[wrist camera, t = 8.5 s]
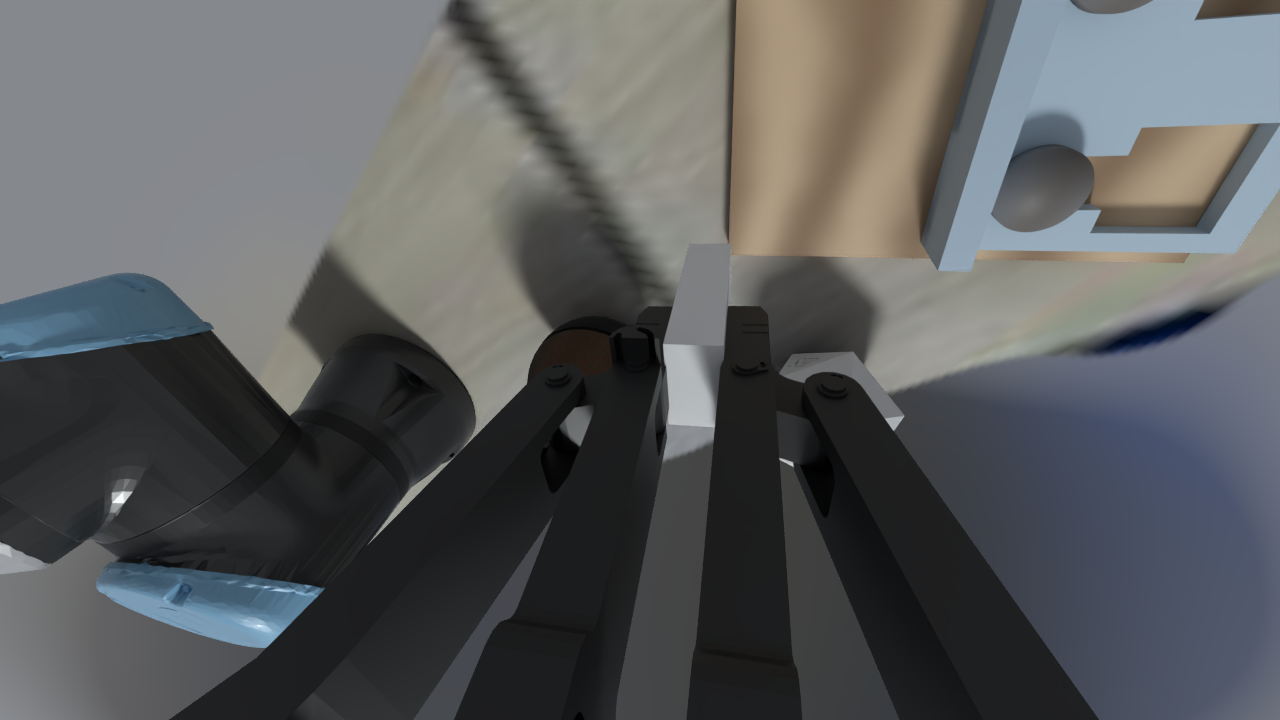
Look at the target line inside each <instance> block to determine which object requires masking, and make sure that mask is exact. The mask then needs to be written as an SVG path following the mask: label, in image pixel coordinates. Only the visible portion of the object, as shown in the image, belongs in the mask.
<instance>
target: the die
mask: <svg viewBox="0 0 1280 720" xmlns="http://www.w3.org/2000/svg"><path fill="white" fill-rule="evenodd" d="M820 372H836V373H840V374H844V375H847V376H849V377H851V378H853V379H855V380H856V381H857V382H858V383H859V384H860V385H861V386H862V387H863V389H864V390H865V391H866V393H867V394H868V396H869V397H870V398H871V400H872V401H873V403H874V404H875V406H876V407H877V408H878V410H879V411H880V413H881V414H882V415H883V417H884V418H885V420H886V421H887V422H888V424H889V425H890V427H891V428H892V429H893V431H894V430H895V429H896V427H897V425H898V424H899V423H900V421H901V420H902V419H903V417H904V415H903V413H902V412H901V411H900V410H899V408H898V407H897V406H896V405H895V404H894V402H893V401H892V400H891V398H890V397H889V396H888V395H887V393H886V392H885V391H884V390H883V388H882V387H881V386H880V385H879V383H878V382H877V381H876V380H875V378H874V377H873V376H872V375H871V373H870V372H869V371H868V370H867V368H866V367H865V366H864V365H863V363H862V362H861V361H860V360H859V358H858V357H857V356H856V355H855V353H854V352H828V353H802V354H792V355H791V356H790V358H789V359H788V361H787V362H786V363H785V365H784V366H783V368H782V369H781V371H780V372H779V374H780V375H782V376H784V377H786V378H789V379H792V380H795V381H799V382H803V383H804V382H805V380H806V378H808V377H810V376H811V375H813V374H816V373H820ZM779 460H781V461H783V462H785V463H787V464H789V465H791V466H793V462H791V461H788V460H785V459H781V458H779ZM793 467H794V466H793Z"/></svg>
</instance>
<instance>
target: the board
mask: <svg viewBox="0 0 1280 720" xmlns="http://www.w3.org/2000/svg"><path fill="white" fill-rule="evenodd" d="M987 1H988V0H737V2H736V34H735V65H734V96H733V128H732V159H731V190H730V222H729V244H731V255H766V256H823V257H880V258H930V257H929V255H928V254H927V252H926V251H925V249H924V247H923V246H922V244H921V239H922V235H923V232H924V228H925V224H926V221H927V217H928V214H929V210H930V206H931V203H932V199H933V196H934V192H935V188H936V185H937V181H938V178H939V174H940V170H941V167H942V163H943V160H944V156H945V152H946V149H947V145H948V142H949V138H950V134H951V131H952V127H953V124H954V120H955V116H956V113H957V109H958V106H959V102H960V98H961V95H962V91H963V88H964V84H965V80H966V77H967V73H968V70H969V66H970V63H971V59H972V55H973V52H974V48H975V45H976V41H977V37H978V34H979V30H980V27H981V23H982V19H983V16H984V12H985V9H986V5H987ZM1070 1H1071V2H1072V3H1073V5H1075V6H1076V7H1077V8H1078V9H1080V10H1082V11H1085V12H1088V13H1093V14H1118V13H1124V12H1127V11H1131V10H1134V9H1136V8H1139V7H1141V6H1143V5H1145V4H1147V3H1149V2H1151V1H1153V0H1070ZM1274 12H1280V0H1204V2H1203V4H1202V6H1201V8H1200V10H1199V12H1198V14H1197V16H1196V18H1209V17H1222V16H1235V15H1248V14H1261V13H1274ZM1196 18H1195V19H1196ZM1259 124H1260V123H1259ZM1259 124H1231V125H1202V126H1174V127H1146V128H1141V130H1140V132H1139V134H1138V136H1137V138H1136V140H1135V143H1134V145H1133V147H1132V149H1131V151H1130V153H1129V155H1128V156H1087V157H1086V156H1085V155H1084V154H1082V153H1080V152H1078V151H1076V150H1074V149H1072V148H1070V147H1067V146H1064V145H1057V144H1050V145H1042V146H1038V147H1034V148H1031V149H1029V150H1026V151H1024V152H1022V153H1020V154H1018V155H1017V156H1015V157H1014V158H1011V160H1010V162H1009V165H1008V168H1007V170H1006V173H1005V176H1004V179H1003V182H1002V185H1001V187H1000V190H999V193H998V196H997V199H996V201H995V204H994V207H993V210H992V213H991V215H992V216H993V217H994V218H995V219H996V220H997V221H998V222H999V223H1000V224H1001V225H1003V226H1004V227H1005V228H1007V229H1010V230H1013V231H1017V232H1035V231H1040V230H1044V229H1047V228H1050V227H1052V226H1055V225H1057V224H1059V223H1061V222H1062V221H1064V220H1065V219H1067V218H1068V217H1070V216H1071V215H1072V214H1074V213H1075V212H1076V211H1077V210H1078V209H1079V208H1080V207H1081V206H1082V204H1092V205H1094V206H1095V207H1097V208H1099V209H1100V210H1101V212H1100V214H1099V216H1098V218H1097V220H1096V222H1095V224H1094V226H1151V227H1196V226H1197V224H1198V222H1199V221H1200V219H1201V218H1202V216H1203V214H1204V213H1205V211H1206V210H1207V208H1208V206H1209V205H1210V203H1211V201H1212V200H1213V198H1214V197H1215V195H1216V193H1217V192H1218V190H1219V189H1220V187H1221V185H1222V184H1223V182H1224V180H1225V179H1226V177H1227V176H1228V174H1229V172H1230V171H1231V169H1232V168H1233V166H1234V164H1235V163H1236V161H1237V159H1238V158H1239V156H1240V155H1241V153H1242V151H1243V150H1244V148H1245V147H1246V145H1247V143H1248V142H1249V140H1250V138H1251V137H1252V135H1253V134H1254V132H1255V130H1256V129H1257V127H1258V126H1259ZM1189 254H1190V253H1162V252H1088V251H1015V250H978V252H977V255H976V258H975V259H995V260H1052V261H1109V262H1167V263H1184V262H1185V260H1186V258H1187V257H1188V255H1189Z"/></svg>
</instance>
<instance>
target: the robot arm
mask: <svg viewBox="0 0 1280 720" xmlns="http://www.w3.org/2000/svg"><path fill="white" fill-rule="evenodd" d="M730 286H731V244H689V247H688V251H687V255H686V259H685V263H684V266H683V270H682V274H681V278H680V282H679V285H678V289H677V293H676V297H675V301H674V304H673V307H659V306H648V307H647V308H646V309H645V310H644V311H643V312H641V313H640V314H639V317H638V319H637V322H636V325H629V326H626V327H622V328H619V329H618V330H616V331H614V332H613V333H612V334H611V335H610V336H609V343H610V349H611V356H612V363H613V364H612V366H611V369H610V370H608V371H606V372H602V373H598V374H593V375H587V376H583V372H582V370H581V369H580V368H579V367H578V366H575V365H573V364H564V363H562V364H555V365H552V366H549V367H547V368H544V369H543V370H541V371H540V372H539V373H537V374H536V375H535V376H534V377H533V378H532V379H531V380H530V381H529V383H528V384H527V385H526V386H525V387H524V388H523V389H522V390H521V391H520V392H519V393H518V394H517V395H516V396H515V397H514V398H513V399H512V400H511V401H510V402H509V403H508V404H507V405H506V406H505V407H504V408H503V409H502V410H501V411H500V412H499V413H498V414H497V415H496V416H495V417H494V418H493V419H492V420H491V421H490V422H489V423H488V424H487V425H486V426H485V427H484V428H483V429H482V430H481V431H480V432H479V433H478V434H477V435H476V436H475V437H474V438H473V439H472V440H471V441H470V442H469V443H468V444H467V445H466V446H465V444H466V443H467V441H468V440H469V439H470V437H471V436H472V434H473V432H474V429H475V424H476V416H475V411H474V407H473V404H472V401H471V399H470V397H469V395H468V393H467V392H466V390H465V388H464V387H463V386H462V384H461V383H460V382H459V380H458V379H457V378H456V377H455V376H454V375H453V374H452V372H451V371H450V370H448V369H447V368H446V367H445V366H444V365H443V364H442V363H441V362H439V361H438V360H437V359H435V358H434V357H433V356H431V355H430V354H428V353H427V352H425V351H423V350H422V349H420V348H418V347H416V346H414V345H412V344H410V343H407V342H405V341H402V340H399V339H396V338H392V337H388V336H382V335H363V336H359V337H356V338H353V339H351V340H349V341H348V342H347V343H345V344H344V345H343V346H341V347H340V348H339V349H338V350H336V351H335V352H334V353H333V354H332V355H331V356H330V357H329V358H328V359H327V360H326V362H325V363H324V365H323V368H322V370H321V372H320V374H319V376H318V377H317V379H316V380H315V382H314V383H313V385H312V386H311V388H310V390H309V391H308V393H307V395H306V396H305V398H304V400H303V401H302V403H301V405H300V406H299V408H298V409H297V410H296V411H295V412H294V413H293V414H291V415H290V416H289V415H288V414H287V413H286V412H285V411H284V410H283V409H282V408H281V406H280V405H279V404H278V403H277V402H276V401H275V400H274V399H273V398H272V397H271V396H270V395H269V394H268V392H267V391H266V390H265V389H264V388H263V387H262V386H261V385H260V384H259V383H258V381H257V380H256V379H255V378H254V377H253V376H252V375H251V374H250V373H249V371H247V369H246V368H245V367H244V366H243V365H242V364H241V363H240V362H239V360H238V359H237V358H236V357H235V356H234V355H233V354H232V353H231V352H230V350H229V349H228V348H227V347H226V346H225V345H224V344H223V343H222V342H221V340H220V339H219V338H218V337H217V336H216V335H215V334H214V333H213V332H212V331H211V329H214V328H213V326H212V325H211V324H210V323H207V322H204V321H202V320H201V319H200V318H199V317H198V316H197V315H196V314H195V313H194V312H193V311H192V310H191V309H190V308H189V307H188V306H187V305H186V304H185V303H184V302H183V301H182V300H181V299H180V298H179V297H178V296H177V295H176V294H175V293H174V292H173V291H172V290H171V289H170V288H169V287H167V286H166V285H165V284H164V283H162V282H161V281H159V280H157V279H155V278H152V277H150V276H146V275H143V274H137V273H118V274H113V275H108V276H104V277H101V278H97V279H93V280H89V281H86V282H82V283H78V284H74V285H71V286H67V287H63V288H60V289H56V290H52V291H48V292H45V293H41V294H37V295H34V296H30V297H26V298H23V299H19V300H15V301H11V302H8V303H4V304H0V574H7V573H14V572H22V571H30V570H38V569H44V568H46V567H47V566H49V565H51V564H53V563H54V562H56V561H57V560H59V559H60V558H61V557H63V556H64V555H66V554H67V553H69V552H70V551H72V550H73V549H74V548H76V547H77V546H79V545H80V544H82V543H83V542H84V541H86V540H89V539H92V540H93V541H95V542H96V543H98V544H100V545H101V546H103V547H104V548H105V549H107V550H109V551H110V552H111V553H113V554H114V555H115V556H116V557H117V560H116V561H115V562H110V563H109V564H108V565H106V566H105V567H104V568H103V572H102V574H101V575H100V576H99V578H98V579H97V580H96V587H97V589H98V590H99V592H101V593H104V594H106V595H107V596H108V597H109V598H110V599H112V600H113V601H115V602H117V603H119V604H121V605H123V606H125V607H127V608H129V609H131V610H134V611H136V612H139V613H141V614H143V615H146V616H148V617H151V618H153V619H156V620H159V621H161V622H164V623H167V624H170V625H172V626H175V627H178V628H181V629H185V630H187V631H190V632H193V633H196V634H200V635H203V636H207V637H210V638H213V639H217V640H221V641H225V642H229V643H233V644H238V645H243V646H249V647H258V648H259V647H260V648H265V647H267V648H266V649H265V650H264V651H263V652H262V653H261V654H260V655H259V656H258V657H257V658H256V659H254V660H253V661H251V662H250V663H249V664H247V665H246V666H244V667H243V668H241V669H240V670H239V671H238V672H236V673H234V674H233V675H232V676H230V677H229V678H227V679H226V680H225V681H223V682H222V683H220V684H219V685H217V686H216V687H215V688H213V689H212V690H210V691H209V692H208V693H206V694H205V695H203V696H202V697H201V698H199V699H198V700H196V701H195V702H193V703H192V704H191V705H189V706H188V707H187V708H185V709H184V710H182V711H181V712H179V713H178V714H177V715H175V716H174V717H173V718H171V719H169V720H413V719H414V718H415V716H416V714H417V713H418V712H419V710H420V709H421V707H422V706H423V704H424V703H425V701H426V700H427V699H428V697H429V696H430V694H431V693H432V691H433V690H434V688H435V687H436V685H437V684H438V683H439V681H440V680H441V678H442V677H443V675H444V674H445V672H446V671H447V669H448V668H449V667H450V665H451V664H452V662H453V660H454V659H455V658H456V656H457V655H458V653H459V652H460V650H461V649H462V648H463V646H464V645H465V643H466V642H467V640H468V639H469V637H470V636H471V634H472V633H473V631H474V630H475V629H476V627H477V626H478V624H479V623H480V621H481V620H482V618H483V617H484V615H485V614H486V613H487V611H488V610H489V608H490V607H491V605H492V604H493V602H494V601H495V599H496V598H497V596H498V595H499V594H500V592H501V591H502V589H503V588H504V586H505V585H506V583H507V582H508V580H509V579H510V577H511V576H512V575H513V573H514V572H515V570H516V569H517V567H518V566H519V564H520V563H521V561H522V560H523V559H524V557H525V555H526V554H527V553H528V551H529V550H530V548H531V547H532V545H533V544H534V542H535V541H536V540H537V538H538V536H539V535H540V534H541V532H542V531H543V529H544V528H545V526H546V525H547V523H548V522H549V521H550V519H551V518H552V516H553V518H552V520H551V523H550V525H549V528H548V531H547V533H546V536H545V538H544V541H543V544H542V546H541V548H540V551H539V554H538V556H537V559H536V561H535V564H534V567H533V569H532V572H531V574H530V577H529V580H528V582H527V584H526V587H525V590H524V592H523V595H522V597H521V600H520V602H519V605H518V607H517V609H516V611H515V613H514V615H513V616H512V617H511V618H510V619H507V620H504V621H501V622H500V623H499V624H498V625H497V626H496V627H495V629H494V630H493V631H492V633H491V635H490V637H489V639H488V641H487V643H486V645H485V647H484V649H483V652H482V654H481V657H480V659H479V661H478V664H477V666H476V668H475V671H474V673H473V676H472V678H471V681H470V683H469V685H468V688H467V690H466V692H465V695H464V697H463V700H462V702H461V704H460V707H459V709H458V712H457V714H456V716H455V719H454V720H616V703H617V696H618V689H619V685H620V679H621V674H622V669H623V664H624V659H625V653H626V648H627V643H628V638H629V632H630V627H631V622H632V617H633V612H634V606H635V601H636V596H637V591H638V585H639V580H640V575H641V570H642V565H643V559H644V554H645V549H646V543H647V538H648V533H649V528H650V523H651V518H652V512H653V507H654V502H655V497H656V492H657V486H658V481H659V476H660V470H661V465H662V460H663V455H664V450H665V445H666V439H667V433H666V421H667V416H668V418H669V424H672V425H688V426H704V427H715V433H714V445H713V456H712V468H711V480H710V491H709V502H708V514H707V526H706V537H705V549H704V561H703V572H702V583H701V594H700V605H699V617H698V628H697V640H696V646H695V649H694V653H693V659H692V668H691V677H690V688H689V699H688V710H687V720H802V711H801V697H800V687H799V678H798V672H797V668H796V666H795V664H794V662H793V656H792V646H791V630H790V614H789V599H788V584H787V570H786V569H787V568H786V554H785V537H784V522H783V506H782V491H781V475H780V460H779V458H781V459H785V460H788V461H791V462H793V466H794V470H795V473H796V475H797V477H798V480H799V482H800V485H801V487H802V489H803V492H804V494H805V497H806V499H807V501H808V504H809V506H810V508H811V511H812V513H813V516H814V518H815V520H816V523H817V525H818V527H819V530H820V532H821V535H822V537H823V539H824V542H825V544H826V546H827V549H828V551H829V554H830V556H831V558H832V561H833V563H834V565H835V568H836V570H837V572H838V575H839V577H840V580H841V582H842V584H843V587H844V589H845V592H846V594H847V596H848V599H849V601H850V603H851V606H852V608H853V611H854V613H855V615H856V618H857V620H858V622H859V625H860V627H861V630H862V632H863V634H864V637H865V639H866V641H867V644H868V646H869V648H870V651H871V653H872V656H873V658H874V660H875V663H876V665H877V668H878V670H879V672H880V674H881V677H882V679H883V682H884V684H885V687H886V689H887V691H888V694H889V696H890V699H891V701H892V703H893V705H894V708H895V710H896V713H897V715H898V718H899V720H1099V719H1098V718H1097V716H1096V715H1095V713H1094V712H1093V711H1092V709H1091V708H1090V706H1089V705H1088V704H1087V703H1086V701H1085V699H1084V698H1083V697H1082V695H1081V694H1080V693H1079V691H1078V690H1077V688H1076V687H1075V685H1074V684H1073V683H1072V681H1071V680H1070V678H1069V677H1068V676H1067V674H1066V673H1065V671H1064V670H1063V668H1062V667H1061V666H1060V664H1059V663H1058V661H1057V660H1056V659H1055V657H1054V656H1053V655H1052V653H1051V652H1050V650H1049V649H1048V648H1047V646H1046V645H1045V643H1044V642H1043V640H1042V639H1041V638H1040V636H1039V635H1038V633H1037V632H1036V631H1035V629H1034V628H1033V626H1032V625H1031V623H1030V622H1029V621H1028V619H1027V618H1026V616H1025V615H1024V614H1023V612H1022V611H1021V610H1020V608H1019V607H1018V605H1017V604H1016V603H1015V601H1014V600H1013V598H1012V597H1011V595H1010V594H1009V593H1008V591H1007V590H1006V588H1005V587H1004V586H1003V584H1002V583H1001V581H1000V580H999V579H998V577H997V576H996V574H995V573H994V571H993V570H992V569H991V567H990V566H989V564H988V563H987V562H986V560H985V559H984V557H983V556H982V555H981V553H980V552H979V550H978V549H977V548H976V546H975V545H974V543H973V542H972V541H971V539H970V538H969V536H968V535H967V533H966V532H965V531H964V529H963V528H962V526H961V525H960V524H959V523H958V521H957V520H956V518H955V517H954V515H953V514H952V512H951V511H950V510H949V508H948V507H947V505H946V504H945V503H944V501H943V500H942V498H941V497H940V496H939V494H938V493H937V491H936V490H935V488H934V487H933V486H932V485H931V483H930V482H929V480H928V479H927V477H926V476H925V475H924V473H923V472H922V470H921V469H920V468H919V466H918V465H917V463H916V462H915V460H914V459H913V458H912V456H911V455H910V454H909V452H908V451H907V449H906V448H905V446H904V445H903V443H902V442H901V441H900V439H899V438H898V436H897V435H896V434H895V432H894V431H893V429H892V428H891V427H890V425H889V424H888V422H887V421H886V420H885V418H884V417H883V415H882V414H881V413H880V411H879V410H878V408H877V407H876V406H875V404H874V403H873V401H872V400H871V398H870V397H869V396H868V394H867V393H866V391H865V390H864V389H863V387H862V386H861V385H860V384H859V383H858V382H857V381H856V380H855V379H853V378H851V377H849V376H847V375H844V374H840V373H836V372H820V373H816V374H813V375H811V376H810V377H808V378H806V380H805V382H804V383H803V382H799V381H795V380H792V379H789V378H786V377H784V376H782V375H780V374H779V373H778V372H777V371H775V369H774V368H773V366H772V364H771V360H770V344H769V328H768V315H767V314H766V312H765V311H764V310H763V309H762V308H761V307H760V306H730ZM464 446H465V447H464ZM463 447H464V448H463ZM462 448H463V449H462ZM452 458H453V459H452ZM451 459H452V460H451ZM449 460H451V461H450V463H449V464H448V465H447V466H446V467H445V468H444V469H443V470H442V471H441V472H440V473H439V474H438V475H437V476H436V477H435V478H434V479H433V480H432V481H431V482H430V483H429V484H428V485H427V486H426V487H425V488H424V489H423V490H422V491H421V492H420V493H419V494H418V495H417V496H416V497H415V498H414V499H413V500H412V501H411V502H410V503H409V504H408V505H407V506H406V507H405V508H404V509H403V510H402V511H401V512H400V513H399V514H398V515H397V516H396V517H395V518H394V519H393V520H392V521H391V522H390V523H389V524H388V525H387V526H386V527H385V528H384V529H383V530H382V531H381V532H380V533H379V534H378V535H377V536H376V537H375V538H374V539H373V537H374V536H375V535H376V533H377V532H378V531H379V529H380V528H381V527H382V525H383V524H384V523H385V521H386V520H387V519H388V517H389V516H390V515H391V513H392V512H393V511H394V509H395V508H396V507H397V505H398V504H399V502H400V501H401V500H402V498H403V497H404V496H405V495H406V493H407V492H408V491H409V490H410V488H411V487H412V486H414V485H415V484H417V483H418V482H419V481H421V480H422V479H424V478H425V477H426V476H428V475H429V474H430V473H432V472H433V471H434V470H436V469H437V468H438V467H439V466H440V465H441V464H443V463H445V462H447V461H449ZM372 539H373V540H372ZM371 540H372V541H371ZM370 541H371V542H370ZM369 543H370V544H369ZM368 544H369V545H368ZM367 545H368V546H367Z"/></svg>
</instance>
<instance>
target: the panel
mask: <svg viewBox="0 0 1280 720" xmlns="http://www.w3.org/2000/svg"><path fill="white" fill-rule="evenodd" d="M1203 2H1204V0H1153V1H1151V2H1149V3H1147V4H1145V5H1143V6H1141V7H1139V8H1136V9H1134V10H1131V11H1127V12H1124V13H1118V14H1093V13H1088V12H1085V11H1082V10H1080V9H1078V8H1077V7H1076V6H1075V5H1073V3H1072V2H1071V1H1070V0H988V1H987V5H986V9H985V12H984V16H983V19H982V23H981V27H980V30H979V34H978V37H977V41H976V45H975V48H974V52H973V55H972V59H971V63H970V66H969V70H968V73H967V77H966V80H965V84H964V88H963V91H962V95H961V98H960V102H959V106H958V109H957V113H956V116H955V120H954V124H953V127H952V131H951V134H950V138H949V142H948V145H947V149H946V152H945V156H944V160H943V163H942V167H941V170H940V174H939V178H938V181H937V185H936V188H935V192H934V196H933V199H932V203H931V206H930V210H929V214H928V217H927V221H926V224H925V228H924V232H923V235H922V239H921V244H922V246H923V247H924V249H925V251H926V252H927V254H928V255H929V257H930V259H931V260H932V262H933V263H934V265H935V267H936V268H937V270H938V271H971V269H972V266H973V263H974V260H975V258H976V255H977V252H978V250H1015V251H1088V252H1162V253H1236V251H1237V250H1238V248H1239V247H1240V245H1241V244H1242V242H1243V241H1244V240H1245V238H1246V237H1247V235H1248V234H1249V232H1250V231H1251V229H1252V228H1253V227H1254V225H1255V224H1256V222H1257V221H1258V219H1259V218H1260V216H1261V215H1262V214H1263V212H1264V211H1265V209H1266V208H1267V206H1268V205H1269V203H1270V202H1271V201H1272V199H1273V198H1274V196H1275V195H1276V193H1277V192H1278V190H1279V189H1280V12H1274V13H1261V14H1248V15H1235V16H1222V17H1209V18H1196V16H1197V14H1198V12H1199V10H1200V8H1201V6H1202V4H1203ZM1195 18H1196V19H1195ZM1259 123H1260V124H1259ZM1231 124H1259V126H1258V127H1257V129H1256V130H1255V132H1254V134H1253V135H1252V137H1251V138H1250V140H1249V142H1248V143H1247V145H1246V147H1245V148H1244V150H1243V151H1242V153H1241V155H1240V156H1239V158H1238V159H1237V161H1236V163H1235V164H1234V166H1233V168H1232V169H1231V171H1230V172H1229V174H1228V176H1227V177H1226V179H1225V180H1224V182H1223V184H1222V185H1221V187H1220V189H1219V190H1218V192H1217V193H1216V195H1215V197H1214V198H1213V200H1212V201H1211V203H1210V205H1209V206H1208V208H1207V210H1206V211H1205V213H1204V214H1203V216H1202V218H1201V219H1200V221H1199V222H1198V224H1197V226H1196V227H1151V226H1094V224H1095V222H1096V220H1097V218H1098V216H1099V214H1100V212H1101V210H1100V209H1099V208H1097V207H1095V206H1094V205H1092V204H1082V206H1081V207H1080V208H1079V209H1078V210H1077V211H1076V212H1075V213H1074V214H1072V215H1071V216H1070V217H1068V218H1067V219H1065V220H1064V221H1062V222H1061V223H1059V224H1057V225H1055V226H1052V227H1050V228H1047V229H1044V230H1040V231H1035V232H1017V231H1013V230H1010V229H1007V228H1005V227H1004V226H1003V225H1001V224H1000V223H999V222H998V221H997V220H996V219H995V218H994V217H993V216H992V215H991V213H992V210H993V207H994V204H995V201H996V199H997V196H998V193H999V190H1000V187H1001V185H1002V182H1003V179H1004V176H1005V173H1006V170H1007V168H1008V165H1009V162H1010V160H1011V158H1014V157H1015V156H1017V155H1018V154H1020V153H1022V152H1024V151H1026V150H1029V149H1031V148H1034V147H1038V146H1042V145H1050V144H1057V145H1064V146H1067V147H1070V148H1072V149H1074V150H1076V151H1078V152H1080V153H1082V154H1084V155H1085V156H1086V157H1087V156H1128V155H1129V153H1130V151H1131V149H1132V147H1133V145H1134V143H1135V140H1136V138H1137V136H1138V134H1139V132H1140V130H1141V128H1146V127H1174V126H1202V125H1231Z"/></svg>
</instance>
